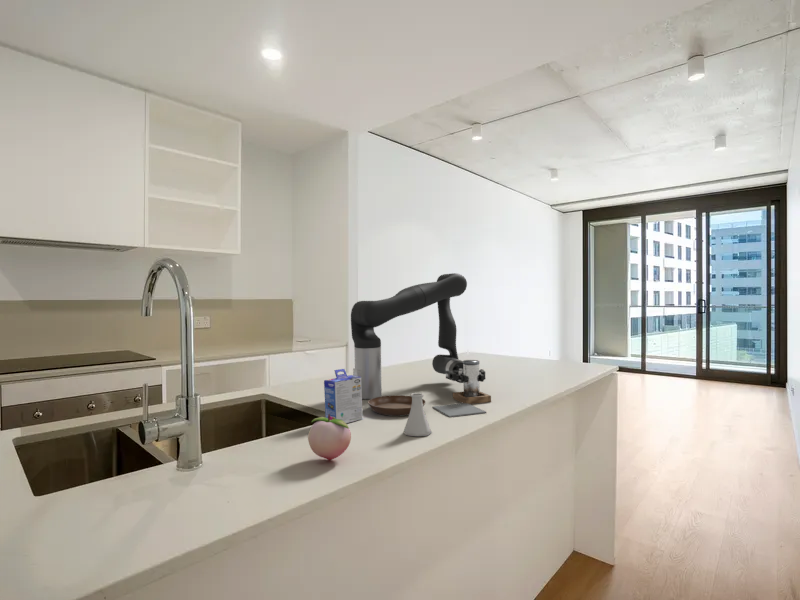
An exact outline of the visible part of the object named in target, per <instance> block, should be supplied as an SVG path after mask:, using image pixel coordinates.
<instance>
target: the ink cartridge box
mask: <svg viewBox="0 0 800 600" xmlns="http://www.w3.org/2000/svg"><path fill="white" fill-rule="evenodd" d="M341 372H342V374H341ZM338 373H340V374H338ZM334 374H335V377H334V378H331V379H329V378H328V379H325V380H323V381H324V382H323V385H324V386H323V387H324V407H325V409H324V411H325V418H328V414H330V420H332V419H340V420H342V421H344V422H345V423H346V424H348V423H349V424H350V423H353V422H356V421H359V420H362V419H363V399H362V388H361V377H359V376H353V374H351V375H348V374H347V371H346V370H345V368H341V369H335V370H334Z"/></svg>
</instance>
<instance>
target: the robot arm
mask: <svg viewBox="0 0 800 600" xmlns="http://www.w3.org/2000/svg"><path fill="white" fill-rule="evenodd" d="M467 286H468V282H467V279H466V278H465V277H464V276H463V275H462V274H460V273H457V272H456V273H453V272H452V273H444V274H441V275H439V276H438V277H437V279H436V281H432V282H424V283H419V284H415V285H411V286H408V287H405V288H403V289H401V290H399V291H398V292H397V293H396V294H395V295H393V296H391V297H388V298H384V299H379V300H358V301H357V302H355V303H354V304H353V306H352V308H351V311H350V328H351V338H352V340H353V344H354V345H353V348H354V367H353V369H352V373H353V374H352V375H353V376H359V377H361V388H362V400H370V399H373V398H376V397H381V396H382V391H383V388H382V341H381V338H380V337H379V336H378V335H377V334H376V331H375V328H377V327H379V326H382V325H384V324H386V323H387V322H389V321H391V320H393V319H395V318H398V317H400V316H404V315H408V314H411V313H413V312H417V311H419V310H423V309H424V308H427V307H428V306H429V307H430V306H431V305H433V304H435V303H437V312H438V342H437V345H438V347H439V348H440V349H444V350H446V351H448V353H449V354H436V355H434V357H433V359H432V363H431V365H432V368H433V370H434V371H435V372H436V373H439V374H443V375H445V379H447V380H450V381H452V382H457V383H459V384H464V383H466V382H467V377H466V375H464V374H463V361H464V360H461V359H459V355H458V351H457V325H456V320H455V319H454V316H453V312H452V309H451V303H450V301H451V298H455V297H460V296H461V295H463V294H464V293H465V291H466V290H467ZM485 380H486V371H485V370H484V368H483V369H480V368H479V382H481V383H482V382H485Z"/></svg>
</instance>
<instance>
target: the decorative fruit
mask: <svg viewBox="0 0 800 600" xmlns="http://www.w3.org/2000/svg"><path fill="white" fill-rule="evenodd" d="M311 423H313V424H312V426H311V427H310V429H309V432H308V434H307V440H308V444H309V446H310V449H311V450H312V452H313V453H314V454H315V455H316V456H318V457H320V458H323V459H326V460H327V461H333V460H335V459H337V458H338V457H340V456H342V454H344V453H345V451H347V450H348V447H350V443H351V440H352V432H351V429H350V427H349V425H348V423H345V422H344V421H342V420H340V419H332V420H330V414H328V418H326V416H325V417H324V416H321V417H316V418H313V419H312V420H311Z"/></svg>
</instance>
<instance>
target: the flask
mask: <svg viewBox="0 0 800 600" xmlns="http://www.w3.org/2000/svg"><path fill="white" fill-rule="evenodd" d="M410 396H411V397H412V406H411V411H410V414H409V415H408V417H407V420H406V423H405V426H404V430H403V433H404V435H405V436H411V437H424V436H426V437H427V436H429V435H431V434H432V433H433V432H432V430H431V429H432V428H431V426H430V423H429V420H428V418H427V416H426V413H425V408H424V406H423V403H422V399H423V397H424V393H421V392H414V393H413V392H412V393H411V394H410Z"/></svg>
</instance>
